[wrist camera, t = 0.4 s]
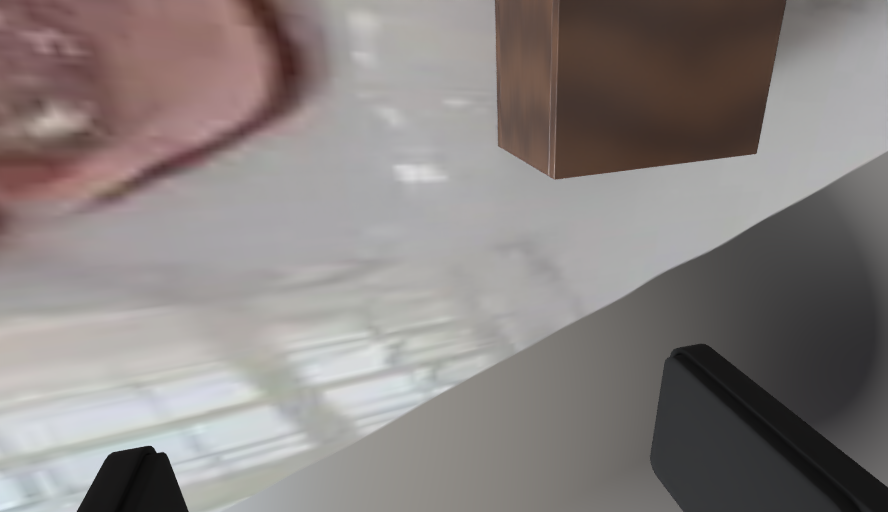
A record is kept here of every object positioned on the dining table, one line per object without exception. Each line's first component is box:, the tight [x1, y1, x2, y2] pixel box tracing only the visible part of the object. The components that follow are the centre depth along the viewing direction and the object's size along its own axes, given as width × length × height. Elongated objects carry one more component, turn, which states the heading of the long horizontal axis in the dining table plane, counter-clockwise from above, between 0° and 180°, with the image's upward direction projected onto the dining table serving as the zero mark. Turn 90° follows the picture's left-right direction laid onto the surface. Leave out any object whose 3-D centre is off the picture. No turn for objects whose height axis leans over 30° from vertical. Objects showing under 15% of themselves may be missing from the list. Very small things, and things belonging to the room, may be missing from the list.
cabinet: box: [495, 0, 786, 179], centre depth 31 cm, size 17×14×11 cm
